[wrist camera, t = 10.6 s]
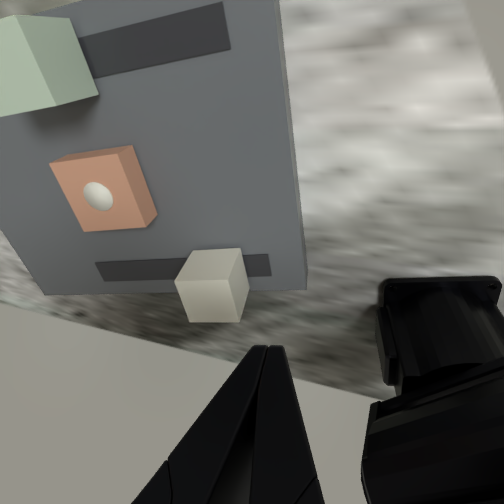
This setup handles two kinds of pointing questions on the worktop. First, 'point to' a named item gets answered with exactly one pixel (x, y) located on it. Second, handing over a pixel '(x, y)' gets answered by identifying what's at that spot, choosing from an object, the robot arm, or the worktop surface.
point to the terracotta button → (105, 189)
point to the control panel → (164, 148)
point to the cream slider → (213, 285)
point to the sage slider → (41, 64)
